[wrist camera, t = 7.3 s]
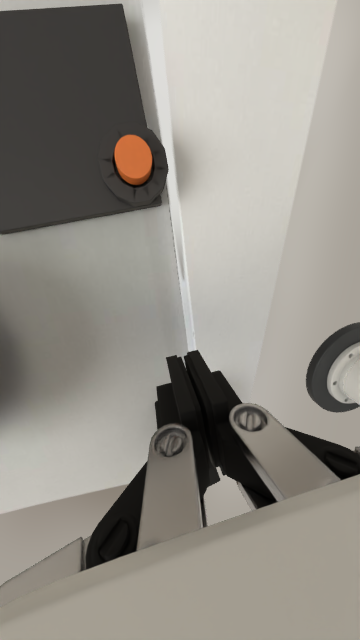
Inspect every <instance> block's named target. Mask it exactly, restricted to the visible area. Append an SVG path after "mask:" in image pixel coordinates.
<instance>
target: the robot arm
mask: <svg viewBox="0 0 360 640" xmlns="http://www.w3.org/2000/svg"><path fill="white" fill-rule="evenodd" d="M166 359H167V364H168V369H169V373H170V378H171V382H172V383H168V384H165V385H161V386H157V397H158V406H159V415H160V424H161V428H159V429H158V430H157V431H156V432H155V433H154V435H153V437H152V438H151V442H150V446H149V454H148V461H147V462H146V463H145V465H144V466H143V467H142V468H141V470H140V471H139V472H138V474H137V475H136V476H135V477H134V479H133V480H132V481H131V483H130V484H129V485H128V486H127V488H126V489H125V490H124V492H123V493H122V494H121V495H120V497H119V498H118V500H117V501H116V502H115V503H114V504H113V506H112V507H111V508H110V510H109V511H108V512H107V513H106V515H105V516H104V517H103V519H102V520H101V521H100V522H99V524H98V525H97V527H96V528H95V530H94V532H93V533H92V535H91V536H89V537H88V538H86V539H84V540H83V539H82V537H80V538H78V539H76V540H75V541H73V542H71V543H70V544H68V545H66V546H65V547H63V548H61V549H60V550H58V551H56V552H55V553H53V554H51V555H50V556H48V557H46V558H45V559H43V560H41V561H40V562H38V563H37V564H35V565H33V566H31V567H30V568H28V569H26V570H25V571H23V572H21V573H20V574H18V575H16V576H15V577H13V578H11V579H10V580H8V581H6V582H5V583H3V584H2V585H1V586H0V640H360V447H355V451H351V450H350V449H348V448H346V447H343V446H341V445H338V444H335V443H332V442H329V441H326V440H323V439H320V438H317V437H314V436H311V435H308V434H304V433H301V432H298V431H295V430H292V429H289V428H286V427H284V426H283V425H282V424H281V423H280V422H279V421H277V419H276V418H274V417H273V416H272V415H271V414H270V413H269V412H268V411H267V410H266V409H264V408H263V407H261V406H259V405H257V404H252V403H242V402H241V400H240V399H239V398H238V396H237V395H236V393H235V392H234V390H233V389H232V387H231V386H230V384H229V383H228V381H227V380H226V379H225V377H224V376H223V374H222V373H221V371H215V372H211V371H210V370H209V368H208V366H207V365H206V363H205V361H204V360H203V358H202V356H201V355H200V353H199V351H198V350H195V351H191V352H187V355H186V356H184V360H185V365H186V368H185V366H184V363H183V361H182V358H181V357H178V358H177V356H176V355H175V356H170V357H166ZM186 370H187V371H186ZM327 388H328V391H329V393H330V394H331V396H332V397H334V398H335V399H336V400H338V401H340V402H342V403H357V404H359V405H360V342H358V343H356V344H354V345H351V346H350V347H348V348H347V349H345V350H344V351H343V352H342V353H341V354H340V355H339V356H338V357H337V358H336V360H335V361H334V363H333V364H332V366H331V368H330V370H329V373H328V377H327ZM208 449H209V452H210V455H211V458H212V460H213V463H214V466H215V468H216V467H218V466H220V468H221V471H222V474H223V475H227V476H228V477H230V478H232V479H234V480H236V481H237V485H238V487H239V490H240V491H241V493H242V495H243V496H244V498H245V500H246V502H247V503H248V505H249V507H250V508H251V510H252V511H251V512H248V513H245V514H242V515H239V516H236V517H233V518H231V519H228V520H225V521H222V522H219V523H216V524H213V525H210V526H208V523H207V515H206V507H205V499H204V493H205V492H206V489H207V487H208V485H209V483H210V476H209V469H211V464H210V458H209V452H208Z"/></svg>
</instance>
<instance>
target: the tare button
mask: <svg viewBox="0 0 360 640" xmlns="http://www.w3.org/2000/svg"><path fill="white" fill-rule="evenodd" d="M114 155H115V161H116V165H117V169H118V172H119V174H120V176H121V177H122V178H123V179H124V180H125V181H126V182H128V183H129V184H132V185H140V184H143V183H144V182H145V181H146V180H147V179H148V178H149V176H150V173H151V167H152V154H151V151H150V148H149V146H148V145H147V143H146V142H145V141H144V140H143V139H142V138H140V137H138V136H136V135H126V136H124V137H122V138H121V139H120V140H119V141H118V142H117V144H116V147H115V152H114Z"/></svg>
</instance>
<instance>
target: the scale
mask: <svg viewBox="0 0 360 640" xmlns="http://www.w3.org/2000/svg"><path fill="white" fill-rule="evenodd" d="M126 135H136V136H138V137H140V138H142V139H143V140H144V141H145V142H146V143H147V145H148V146H149V148H150V151H151V154H152V167H151V173H150V176H149V178H148V179H147V180H146V181H145V182H144V183H143V184H140V185H132V184H129V183H128V182H126V181H125V180H124V179H123V178H122V177H121V176H120V174H119V172H118V169H117V165H116V161H115V155H114V152H115V147H116V144H117V142H118V141H119V140H120V139H121V138H122V137H124V136H126ZM167 174H168V164H167V158H166V153H165V149H164V147H163V145H162V144H161V143H160V141H159V140H158V138H157V137H156V135H155V134H154V133H153V131H152V130H150V129H148V128H147V125H146V120H145V115H144V110H143V105H142V100H141V95H140V90H139V85H138V80H137V75H136V70H135V65H134V60H133V55H132V50H131V45H130V40H129V34H128V29H127V24H126V19H125V14H124V9H123V5H122V4H109V5H93V6H77V7H61V8H45V9H29V10H13V11H0V234H7V233H13V232H18V231H24V230H29V229H35V228H40V227H46V226H51V225H57V224H63V223H68V222H74V221H79V220H85V219H90V218H96V217H101V216H107V215H112V214H118V213H123V212H129V211H134V210H140V209H145V208H151V207H156V206H160V205H161V203H162V201H161V196H160V194H161V193H162V191H163V188H164V184H165V181H166V177H167Z"/></svg>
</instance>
